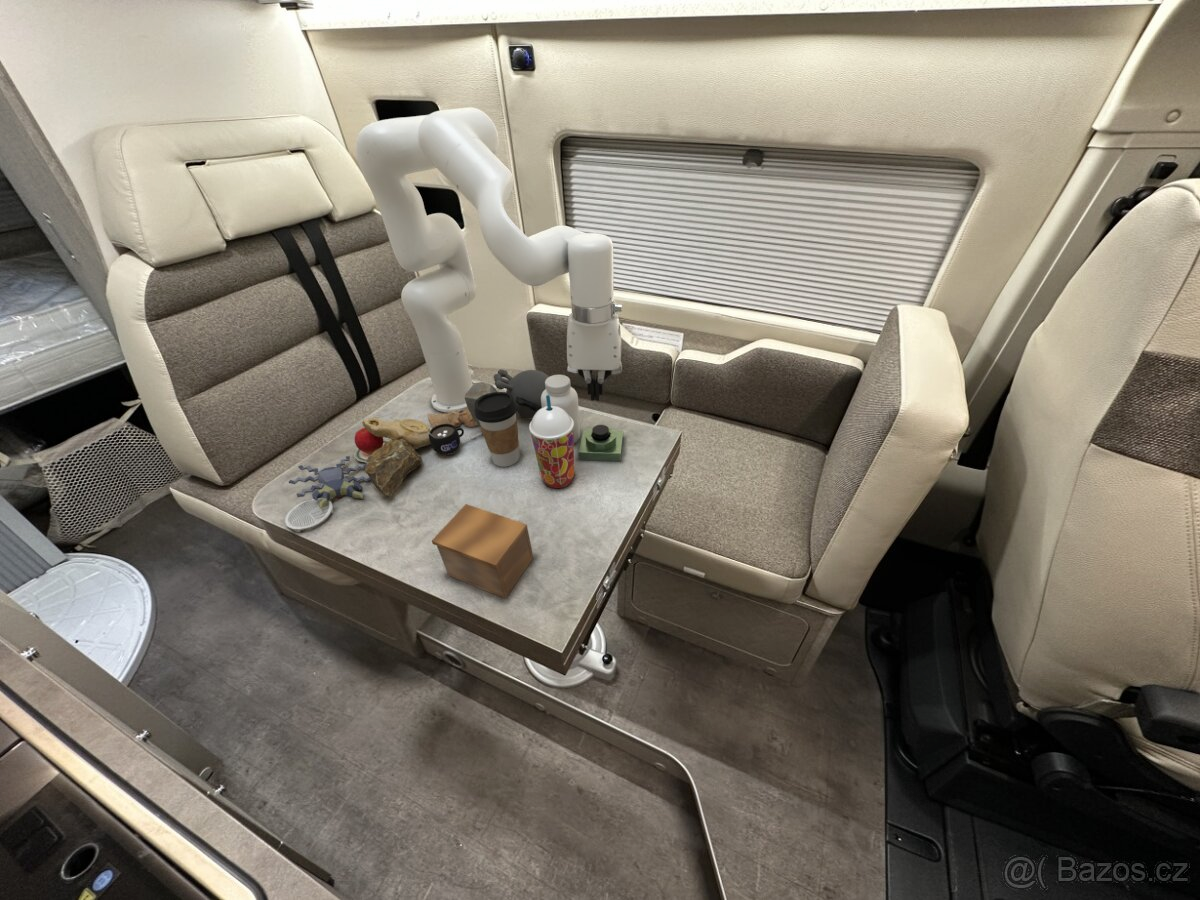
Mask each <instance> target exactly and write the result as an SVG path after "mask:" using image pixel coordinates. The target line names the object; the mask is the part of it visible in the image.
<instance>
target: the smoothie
mask: <svg viewBox="0 0 1200 900" xmlns="http://www.w3.org/2000/svg"><path fill="white" fill-rule="evenodd" d="M546 400H547V406H545V407H543V408H541V409H540V410H538V411H537V412H536V413H535V415H534V417H533V419H531V421H530V423H529V425H528V430H529V432H530V437H531V439H532V444H533V448H534V452H535V457H536V461H537V466H538V469H539V474H540V477H541V480H542V481H543V482H544V483H545V484H546V485H547V486H548V487H550V488H554V489H560V488H561V489H562V488H564V487H566V486H568V485H570V484H571V482H572V481H573V478H574V476H575V444H574V428H573V427H574V421H573V419H572V418H571V417H570V416H569V415H568V413H567V412H566V411H565V410H563V409H562V408H560V407H557V406H551V403H550V396H549V395H547V396H546Z"/></svg>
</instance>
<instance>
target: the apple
mask: <svg viewBox="0 0 1200 900" xmlns="http://www.w3.org/2000/svg"><path fill="white" fill-rule="evenodd" d="M388 441H389V440H388V439H384V437H377V436H375V435H374V434H372V433H370V432H369V431H367V430H366V429H365V427H362V428H360V429H359V430H358V431H356V432H355V434H354V444H355V446H356V450H355V452H354V459H356V460H357V461H358V462H361V463H366V461H367V460H368V457H369V456H370V455H371V454H372V453H373V452H374V451H376V450H377V449H379V448H381V447H382V446H383V445H384V444H385V443H386V442H388Z"/></svg>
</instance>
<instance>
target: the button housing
mask: <svg viewBox="0 0 1200 900" xmlns="http://www.w3.org/2000/svg"><path fill="white" fill-rule="evenodd" d="M606 426H607V427H608V428H609V438H608V439H606V440H603V441H597V440H595V439H594V438H593V434H592V429H593V427H590V428H589V429H583V430H582V433H581V437H580V443H579V447H578V454H577V455H578V460H579V461H596V462H597V461H598V462H599V461H601V462H621V461H622V454H623V453H622V452H623V444H624V431H623V430H615V429H614V428H613V427H611V426H608V425H606Z"/></svg>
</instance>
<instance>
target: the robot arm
mask: <svg viewBox="0 0 1200 900" xmlns="http://www.w3.org/2000/svg"><path fill="white" fill-rule="evenodd" d="M499 149H500V137H499V132H498V130H497V127H496V125H495V123H494V121H493V120H492V119H491V118H490V116H489V115H488V114H487V113H485V111H483V110H481V109H479V108H476V107H459V108H448V109H442V110H441V109H440V110H436V111H433V112H431V113H429V114H425V115H424V114H423V115H416V116H406V117H393V118H388V119H387V118H386V119H381V120H377V121H374V122H371V123H368V124H367V125H366V126H363V127H362V129H361V130H360V131H359V132H358V135H357V137H356V141H355V152H356V153H355V154H356V159H357V163H358V166H359V169H360V171H361V174H362V176H363V178H364V180H365V182H366V183H367V185H368V187H369V189H370V191H371V193H372V195H373V197H374V199H375V201H376V203H377V206H378V209H379V212H380V215H381V220H382V222H383V225H384V228H385V231H386V235H387V236H388V240H389V243H390V246H391V249H392V252H393V254H394V258H395V259H396V261H397V263H398V265H399V266H400V267H401V268H402V269H403V270H405V271H407V272H411V273H417V272H421V271H424V270H428V269H430V268H432V267H436V266H437V265H438V267H439V268H438V269H435V270H433V271H430V272H427V273H425V274H422V275H420V276H417V277H415V278H413V279H412V280H410V281H408V282H407V283H406V284H405V285H404V286H403V288H402V290H401V295H400V299H401V302H402V305H403V309H404V310H405V311H406V314H407V316H408V317H409V319H410V321H411V323H412V326H413V328H414V330H415V332H416V336H417V338H418V342H419V346H420V349H421V352H422V354H423V359H424V362H425V365H426V367H427V371H428V374H429V377H430V380H431V384H432V387H433V390H434V393H433V395H432V397H431V400H430V402H431V405H432V408H433V409H435V410H436V411H438V412H441V413H444V414H446V413H447V414H448V413H451V412H452V411H454V410H456V411H457V412H459V413H461V412H463V410H464V409H468V407H467V405H466V401H465V394H466V392H467V391H469V389H470V388H471V387H472V386H473V385H474V384H473V379H472V378H473V376H474V375H475V372H474V370H473V369H471V368H470V367H469V363H468V358H467V355H466V351H465V346H464V342H463V339H462V334H461V332H460V330H459V328H458V327H457V326H456V325H455V324H454V323H453V322H452V321H451V320H449V315H451V314H453V313H454V312H456V311H458V310H460V309H462V308H464V307H465V306H468V305H469V304H471V303H472V302H473V301H474V299H475V297H476V294H477V285H476V279H475V275H474V269H473V267H472V263H471V262H472V261H471V258H470V254H469V249H468V244H467V242H466V237H465V235H464V232H463V230H462V229H461V227H460V226H459V224H458V223H457V221H456V220H455V219H454V218H453V217H451V216H450V215H449V214H446V213H443V212H436V213H431V214H428V215H427V212H426V209H425V205H424V201H423V198H422V196H421V195H422V194H420V192H419V190H418V188H417V187H416V186H415V185H414V184H413V183H412V181H411V180H410V179H409V178H408V177H407V175H410V174H415V173H419V172H425V171H429V170H433V169H437V170H438V172H439V173H441V174H442V175H443V177H445V178H446V179H447V180H448V181H449V182H450V184H452V185H453V186H454V188H456V190H458V192H460V194H462V195H463V197H464V198H465V199H466V200H467V201H469V203H470V204H471V205H472V206H473V207H474V208H475V210H476V211H477V214H478V223H479V227H480V231H481V235H482V237H483V239H484V241H485V244H486V246H487V248H488V250H489V251H490V253H491V254H492V255H493V256H494V258H495V259H496V260H497V261H498V262H499V263H500V264H501V265H502V266H503V267H504V268H505V269H506V270H507V272H509V273H510V274H511V275H512V276H513V277H514V278H515V279H517V280H518V281H520V282H521V283H523V284H525V285H527V286H529V287H539V286H542V285H545V284H547V283H548V282H550V281H552V280H554V279H556V278H557V277H559V276H562V275H565V274H568V277H569V291H570V307H571V308H570V309H571V313H569V314H568V319H567V327H566V328H567V330H566V361H567V362H566V363H567V368H566V370H567V372H569V373H573V374H578V375H579V376H580V378H582V379H583V380H584V381H585V383H586V385H587V386H586V387H587V395H590V401H592V402H593V401H596V402H599V401H600V398H601V396H604V381H605V380H607V379H608V378H609V377H610V376H611V375H618V374H621V373H622V372H623V365H622V361H621V359H622V333H621V323H620V319H619V315H618V314H617V313H619V312H621V313H622V312H623V310H622V309H623V304H622V303H618V302H616V300H615V297H614V294H615V293H614V284H615V283H614V244H613V240H612V239H611V238H610V236H608V235H606V234H602V233H598V232H584V231H581V230H579V229H576V228H574V227H571V226H568V225H562V224H561V225H555V226H552V227H550V228H548V229H545V230H542V231H540V232H537V233H535V234H532V235H530V236H527V235H526V234H525V233H524V232H523V231H522V230H521V229H520V228H519V227H518V226H517V225H516V224H515V223H514V222H513V220H511V219H512V218H510V217H509V215H508V214H507V211H506V210H505V204H506V203H507V201H508V200H509V198H510V197H511V194H512V191H513V188H514V183H515V182H514V181H515V180H514V175H513V173H512V172H511V170H510V169H509V168H508V167H507V166H506V165H505V164H504V163H503V162H502V160H500V159H499V158H498V156H497V154H498V151H499ZM593 371H598V372H597V375H596V376H595V374H594V372H593Z"/></svg>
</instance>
